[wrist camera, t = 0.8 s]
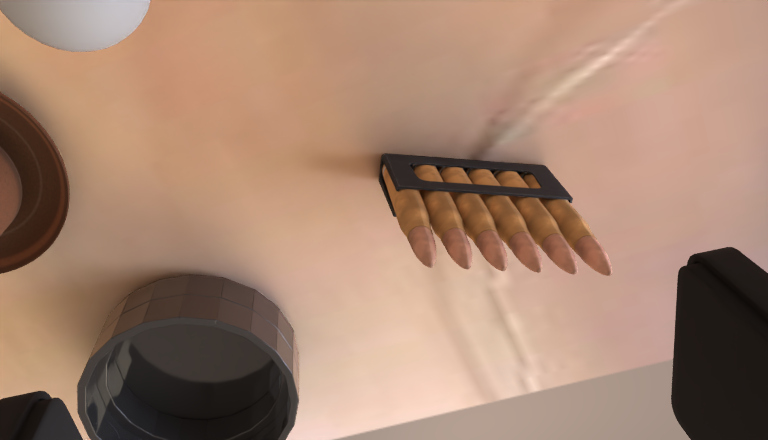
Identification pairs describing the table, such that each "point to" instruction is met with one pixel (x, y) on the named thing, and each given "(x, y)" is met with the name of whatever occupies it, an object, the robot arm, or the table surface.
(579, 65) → the table surface
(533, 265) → the ammunition clip
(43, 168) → the cup and saucer
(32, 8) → the lightbulb
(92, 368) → the bowl
